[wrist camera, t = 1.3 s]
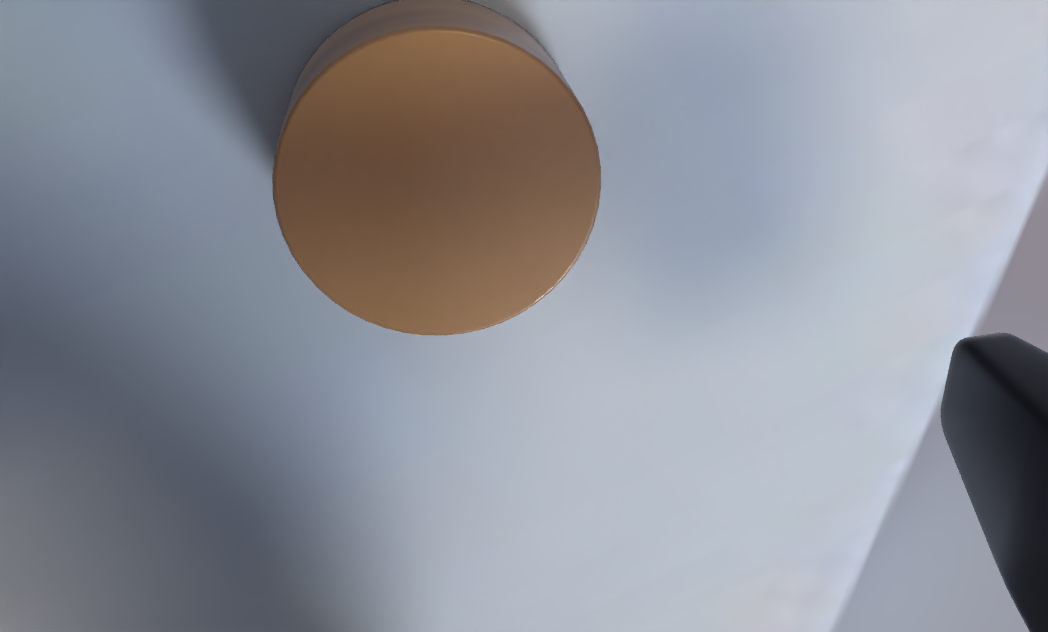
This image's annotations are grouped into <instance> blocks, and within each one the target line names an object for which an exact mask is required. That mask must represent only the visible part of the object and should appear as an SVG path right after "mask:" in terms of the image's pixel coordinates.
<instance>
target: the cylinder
mask: <svg viewBox="0 0 1048 632" xmlns="http://www.w3.org/2000/svg"><path fill="white" fill-rule="evenodd" d="M272 183H273V200H274V205H275V211H276V216H277V220H278V223H279V226H280V229H281V232H282V235H283V237H284V239H285V241H286V244H287V246H288V248H289V250H290V252H291V254H292V256H293V257H294V258H295V260H296V261H297V263H298V264H299V266H300V267H301V269H302V270H303V272H304V273H305V274H306V275H307V276H308V278H309V279H310V280H311V281H312V282H313V283H314V284H315V286H316V287H317V288H319V289H320V290H321V291H322V292H323V293H324V294H325V295H326V296H328V297H329V298H330V299H331V300H332V301H334V302H335V303H337V304H338V305H340V306H341V307H343V308H344V309H345V310H347V311H348V312H350V313H352V314H354V315H356V316H358V317H360V318H362V319H364V320H366V321H368V322H371V323H373V324H376V325H379V326H381V327H384V328H388V329H392V330H396V331H400V332H404V333H411V334H419V335H452V334H461V333H467V332H472V331H476V330H481V329H484V328H487V327H490V326H493V325H496V324H499V323H502V322H504V321H506V320H508V319H510V318H512V317H514V316H516V315H518V314H520V313H522V312H523V311H525V310H526V309H528V308H529V307H531V306H533V305H534V304H536V303H537V302H538V301H539V300H541V299H542V298H543V297H544V296H546V295H547V294H548V293H549V292H550V291H552V289H553V288H554V287H555V286H556V285H557V284H558V283H559V282H560V281H561V280H562V279H563V278H564V277H565V276H566V274H567V273H568V272H569V270H570V269H571V268H572V266H573V265H574V264H575V262H576V261H577V259H578V257H579V256H580V254H581V252H582V250H583V249H584V247H585V245H586V243H587V241H588V238H589V236H590V233H591V231H592V228H593V226H594V222H595V218H596V214H597V211H598V207H599V199H600V190H601V166H600V160H599V153H598V147H597V143H596V140H595V137H594V133H593V130H592V127H591V125H590V123H589V120H588V118H587V116H586V114H585V112H584V110H583V108H582V106H581V104H580V103H579V101H578V100H577V98H576V96H575V95H574V93H573V91H572V90H571V88H570V87H569V85H568V83H567V82H566V80H565V78H564V77H563V75H562V74H561V72H560V70H559V69H558V67H557V66H556V64H555V63H554V61H553V59H552V58H551V56H550V55H549V54H548V53H547V52H546V50H545V49H544V48H543V47H542V46H541V45H540V43H539V42H538V41H537V40H536V39H534V38H533V37H532V36H531V35H530V34H529V33H528V32H527V31H526V30H524V29H523V28H522V27H520V26H519V25H517V24H516V23H514V22H513V21H511V20H510V19H509V18H507V17H505V16H503V15H501V14H499V13H497V12H495V11H493V10H491V9H489V8H486V7H483V6H480V5H477V4H474V3H471V2H467V1H462V0H400V1H395V2H391V3H387V4H384V5H382V6H379V7H376V8H373V9H371V10H368V11H366V12H365V13H363V14H361V15H359V16H357V17H355V18H353V19H351V20H350V21H349V22H347V23H346V24H344V25H343V26H342V27H340V28H339V29H337V30H336V31H335V32H334V33H333V34H332V35H331V36H330V37H329V38H327V39H326V40H325V41H324V42H323V43H322V44H321V45H320V47H319V48H318V49H317V50H316V52H315V53H314V54H313V55H312V57H311V58H310V59H309V60H308V62H307V64H306V66H305V67H304V69H303V71H302V72H301V74H300V76H299V78H298V80H297V82H296V85H295V87H294V90H293V92H292V95H291V98H290V101H289V105H288V108H287V111H286V115H285V118H284V122H283V125H282V128H281V132H280V135H279V139H278V143H277V147H276V151H275V155H274V164H273V174H272Z"/></svg>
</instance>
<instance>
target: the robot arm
mask: <svg viewBox="0 0 1048 632" xmlns="http://www.w3.org/2000/svg"><path fill="white" fill-rule="evenodd" d="M941 423H942V428H943V432H944V435H945V437H946V440H947V443H948V445H949V447H950V450H951V453H952V455H953V458H954V460H955V463H956V465H957V467H958V470H959V473H960V475H961V477H962V480H963V482H964V485H965V487H966V490H967V492H968V495H969V497H970V500H971V502H972V505H973V507H974V510H975V512H976V515H977V517H978V519H979V522H980V525H981V527H982V530H983V532H984V534H985V537H986V540H987V542H988V545H989V547H990V549H991V552H992V554H993V557H994V559H995V562H996V564H997V566H998V568H999V571H1000V573H1001V576H1002V578H1003V580H1004V583H1005V585H1006V587H1007V589H1008V591H1009V593H1010V595H1011V597H1012V598H1013V601H1014V603H1015V605H1016V607H1017V609H1018V611H1019V613H1020V614H1021V616H1022V618H1023V620H1024V622H1025V624H1026V625H1027V627H1028V629H1029V631H1030V632H1048V353H1047V352H1045V351H1043V350H1041V349H1039V348H1037V347H1035V346H1033V345H1032V344H1030V343H1028V342H1026V341H1024V340H1022V339H1020V338H1018V337H1016V336H1014V335H1011V334H1008V333H994V334H988V335H981V336H974V337H968V338H964V339H962V340H960V341H959V342H958V343H957V344H956V346H955V347H954V350H953V353H952V357H951V361H950V366H949V371H948V376H947V380H946V385H945V390H944V394H943V399H942V404H941Z"/></svg>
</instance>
